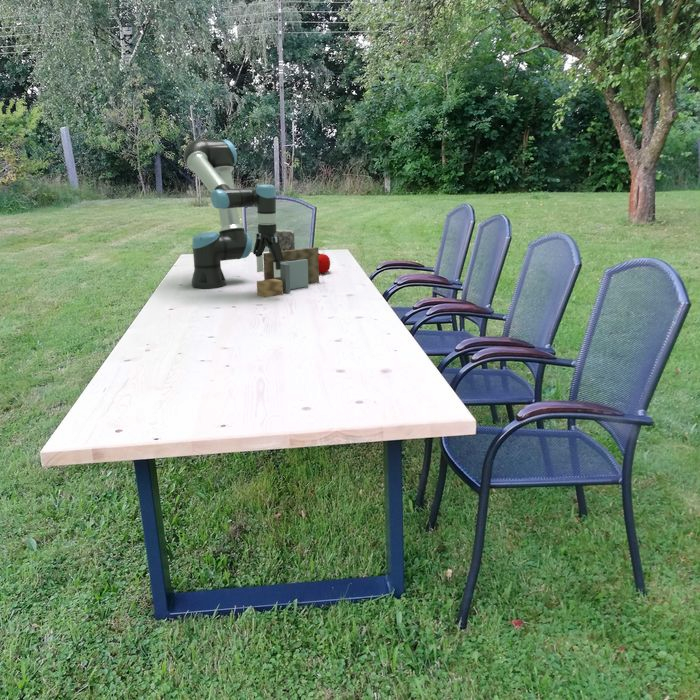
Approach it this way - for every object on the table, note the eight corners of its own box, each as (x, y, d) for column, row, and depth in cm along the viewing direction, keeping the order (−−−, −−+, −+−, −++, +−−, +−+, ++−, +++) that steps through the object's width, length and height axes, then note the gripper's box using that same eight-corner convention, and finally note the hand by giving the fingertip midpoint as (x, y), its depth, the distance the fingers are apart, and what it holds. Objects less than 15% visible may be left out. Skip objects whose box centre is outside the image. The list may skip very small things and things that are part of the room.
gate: (286, 292, 270) (285, 264, 267) (278, 290, 275) (277, 262, 271) (314, 288, 279) (314, 261, 275) (306, 285, 284) (305, 259, 280)
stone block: (269, 270, 321) (267, 231, 315) (269, 268, 328) (268, 229, 322) (295, 270, 322) (294, 230, 316) (295, 267, 329) (294, 228, 323)
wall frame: (267, 290, 277) (265, 253, 272) (264, 289, 278) (263, 253, 273) (319, 282, 293) (318, 247, 288) (316, 281, 295) (315, 247, 290)
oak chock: (275, 292, 273) (274, 278, 272) (282, 294, 269) (282, 280, 267) (257, 295, 268) (256, 281, 266) (264, 297, 264) (264, 283, 262)
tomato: (336, 273, 315) (335, 252, 312) (317, 276, 306) (316, 255, 303) (320, 270, 322) (320, 250, 319) (301, 273, 314) (301, 252, 311)
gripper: (291, 226, 252) (292, 278, 259) (259, 219, 271) (260, 268, 278) (275, 227, 248) (276, 280, 255) (243, 220, 266) (245, 270, 273)
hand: (268, 274), depth 266 cm, fingers open, 13 cm apart
